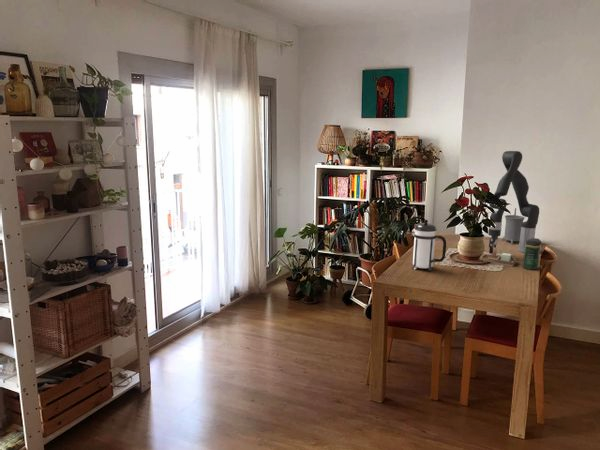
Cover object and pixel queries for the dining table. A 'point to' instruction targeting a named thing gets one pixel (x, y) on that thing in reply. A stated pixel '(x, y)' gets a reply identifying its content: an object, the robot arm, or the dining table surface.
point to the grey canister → (513, 227)
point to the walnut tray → (497, 260)
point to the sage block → (506, 257)
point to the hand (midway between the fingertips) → (492, 252)
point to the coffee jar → (531, 253)
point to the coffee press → (426, 246)
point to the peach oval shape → (494, 251)
